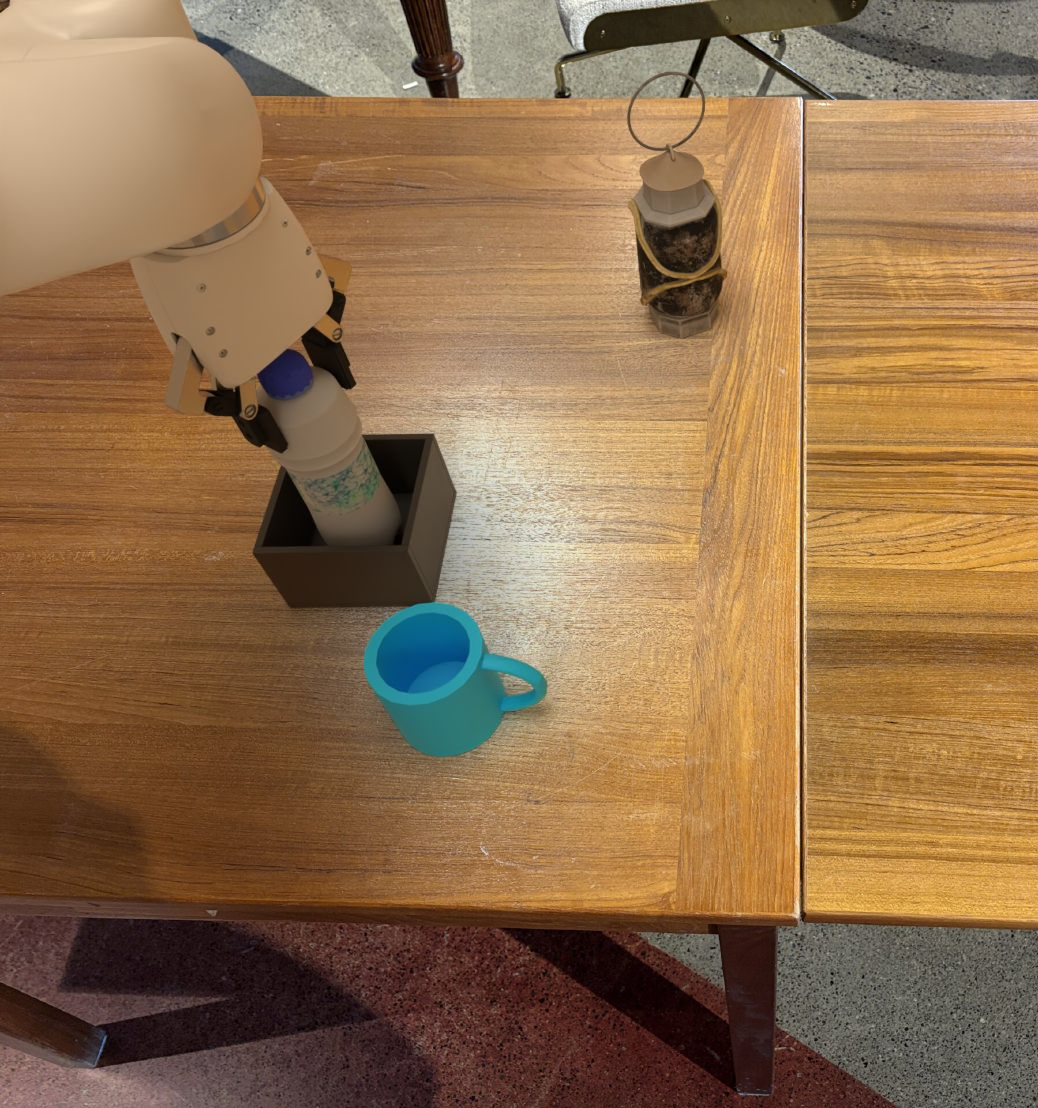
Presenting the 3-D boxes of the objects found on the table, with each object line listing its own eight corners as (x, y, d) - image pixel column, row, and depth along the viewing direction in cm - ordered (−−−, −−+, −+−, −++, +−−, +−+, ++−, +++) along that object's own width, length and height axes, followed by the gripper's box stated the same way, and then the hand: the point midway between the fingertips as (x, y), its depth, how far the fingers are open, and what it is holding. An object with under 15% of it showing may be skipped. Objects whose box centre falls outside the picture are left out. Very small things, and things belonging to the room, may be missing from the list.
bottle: (371, 492, 90) (282, 311, 74) (427, 528, 88) (348, 350, 71) (310, 545, 87) (203, 369, 71) (366, 584, 85) (269, 411, 68)
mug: (385, 754, 78) (349, 703, 71) (411, 657, 83) (379, 600, 76) (547, 761, 77) (526, 709, 71) (564, 662, 82) (546, 605, 75)
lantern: (709, 277, 107) (695, 35, 87) (741, 328, 103) (734, 86, 83) (628, 302, 106) (594, 61, 85) (657, 354, 101) (629, 114, 81)
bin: (433, 606, 85) (407, 551, 79) (289, 607, 86) (251, 553, 79) (456, 492, 92) (434, 433, 86) (322, 493, 92) (290, 435, 86)
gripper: (254, 100, 66) (348, 320, 81) (22, 260, 58) (174, 474, 72) (345, 133, 64) (425, 354, 78) (117, 305, 55) (254, 517, 70)
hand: (304, 410), depth 75 cm, fingers closed on bottle, 6 cm apart
